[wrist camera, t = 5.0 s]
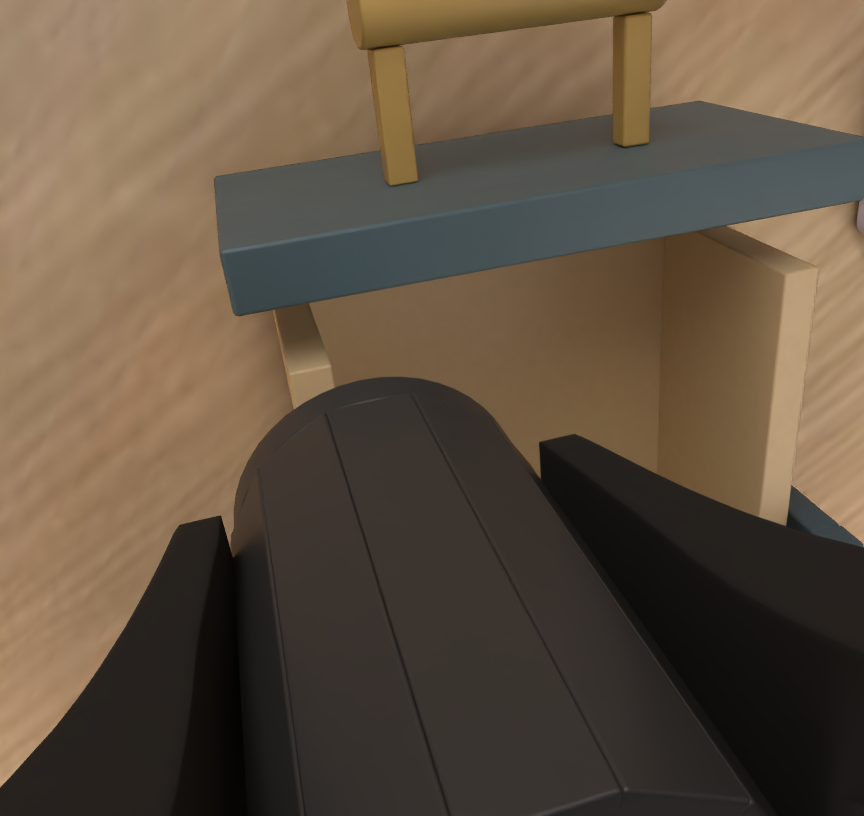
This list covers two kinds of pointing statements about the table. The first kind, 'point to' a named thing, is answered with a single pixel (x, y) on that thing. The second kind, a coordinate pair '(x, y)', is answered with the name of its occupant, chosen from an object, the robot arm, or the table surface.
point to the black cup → (445, 632)
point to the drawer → (555, 260)
